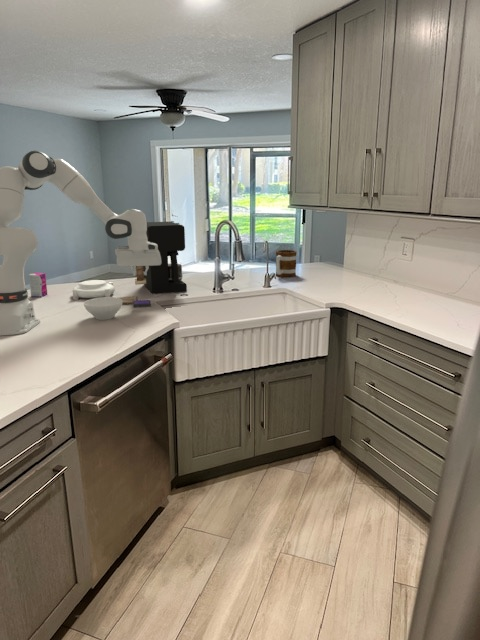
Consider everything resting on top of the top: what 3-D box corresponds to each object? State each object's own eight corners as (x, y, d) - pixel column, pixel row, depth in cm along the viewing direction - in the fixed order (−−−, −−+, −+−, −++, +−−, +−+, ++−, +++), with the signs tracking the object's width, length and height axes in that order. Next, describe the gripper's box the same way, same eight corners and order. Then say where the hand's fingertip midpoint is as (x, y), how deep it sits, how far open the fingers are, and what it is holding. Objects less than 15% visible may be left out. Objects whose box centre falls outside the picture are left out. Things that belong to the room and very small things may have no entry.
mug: (280, 272, 293) (280, 249, 288) (300, 274, 286) (300, 250, 282) (266, 278, 276) (267, 253, 272) (287, 280, 270) (288, 254, 266)
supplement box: (41, 297, 230) (38, 275, 227) (30, 297, 231) (27, 274, 228) (48, 294, 236) (45, 272, 232) (37, 294, 237) (35, 272, 234)
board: (137, 303, 217) (137, 301, 217) (111, 305, 215) (111, 303, 215) (137, 298, 229) (137, 295, 228) (113, 299, 226) (112, 297, 226)
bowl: (84, 314, 200) (82, 299, 198) (121, 311, 206) (120, 295, 204) (86, 324, 186) (84, 307, 184) (126, 320, 191) (124, 304, 189)
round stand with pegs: (60, 297, 232) (58, 283, 230) (99, 288, 251) (98, 275, 249) (89, 304, 219) (87, 289, 217) (128, 294, 237) (127, 281, 235)
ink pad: (151, 306, 213) (150, 303, 213) (133, 307, 211) (133, 304, 211) (150, 302, 220) (150, 299, 220) (133, 303, 219) (133, 300, 218)
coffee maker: (190, 292, 239) (187, 224, 229) (153, 296, 233) (149, 226, 223) (177, 282, 264) (174, 220, 254) (143, 285, 258) (139, 221, 248)
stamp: (146, 284, 211) (145, 264, 209) (135, 284, 210) (133, 265, 208) (145, 281, 216) (144, 262, 213) (135, 282, 215) (133, 263, 212)
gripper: (114, 247, 203) (116, 277, 207) (160, 245, 207) (162, 275, 211) (114, 245, 209) (117, 275, 213) (160, 244, 213) (161, 273, 217)
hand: (140, 275), depth 212 cm, fingers closed on stamp, 3 cm apart
